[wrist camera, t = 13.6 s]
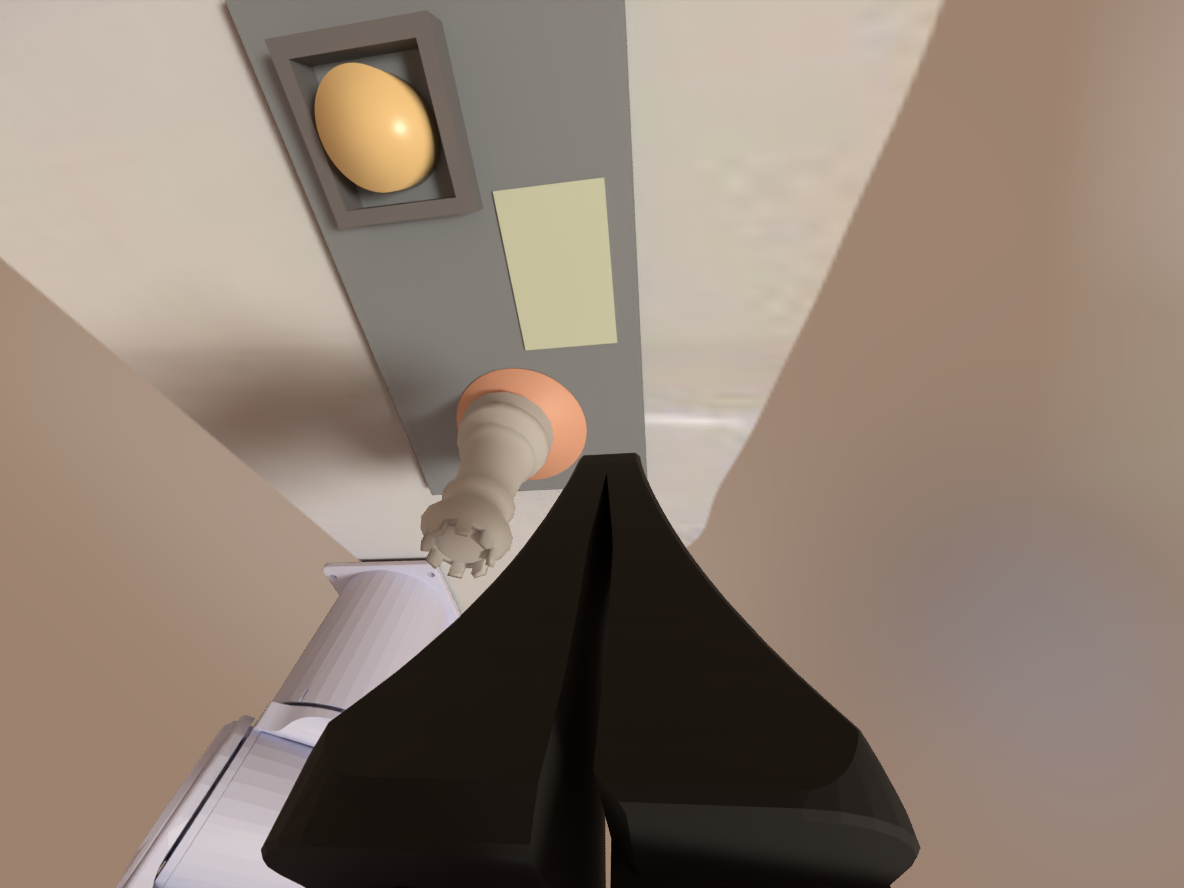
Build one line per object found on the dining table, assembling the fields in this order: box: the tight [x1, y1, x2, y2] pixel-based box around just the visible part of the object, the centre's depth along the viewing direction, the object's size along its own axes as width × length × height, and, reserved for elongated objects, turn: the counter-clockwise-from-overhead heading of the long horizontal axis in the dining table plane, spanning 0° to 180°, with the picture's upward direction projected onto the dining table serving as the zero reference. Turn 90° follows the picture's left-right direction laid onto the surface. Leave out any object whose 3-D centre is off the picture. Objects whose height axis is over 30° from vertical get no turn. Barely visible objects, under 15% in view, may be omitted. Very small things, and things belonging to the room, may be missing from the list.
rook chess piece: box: [421, 392, 554, 578], centre depth 18 cm, size 4×4×8 cm
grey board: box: [225, 0, 647, 495], centre depth 17 cm, size 20×12×2 cm, turn 6°
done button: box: [315, 63, 439, 193], centre depth 14 cm, size 3×3×2 cm
